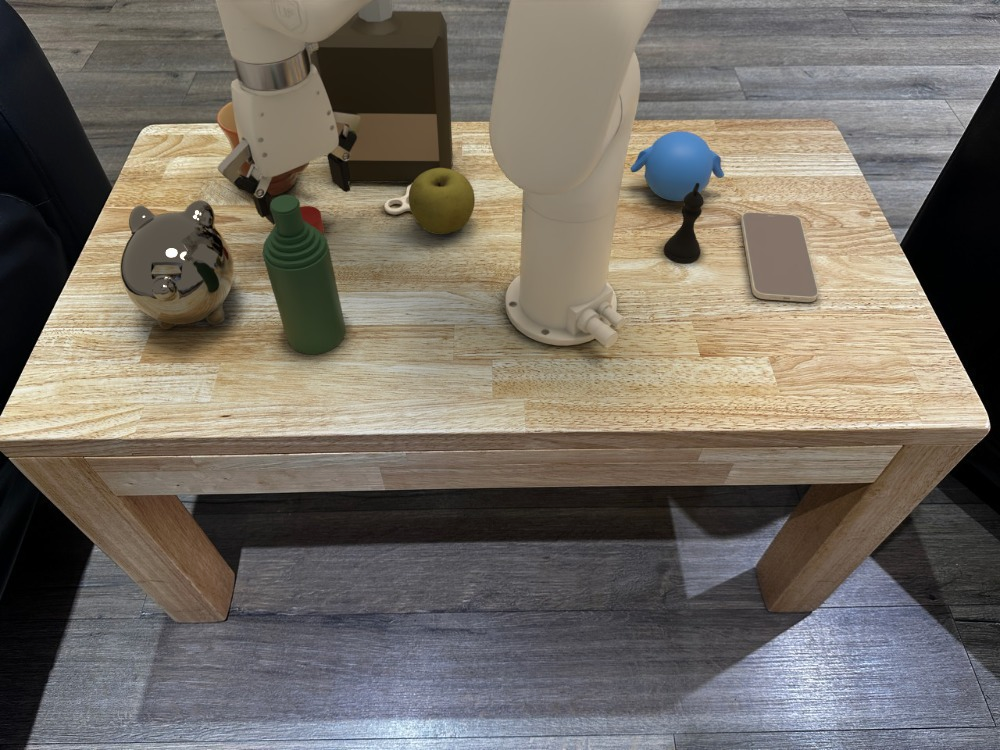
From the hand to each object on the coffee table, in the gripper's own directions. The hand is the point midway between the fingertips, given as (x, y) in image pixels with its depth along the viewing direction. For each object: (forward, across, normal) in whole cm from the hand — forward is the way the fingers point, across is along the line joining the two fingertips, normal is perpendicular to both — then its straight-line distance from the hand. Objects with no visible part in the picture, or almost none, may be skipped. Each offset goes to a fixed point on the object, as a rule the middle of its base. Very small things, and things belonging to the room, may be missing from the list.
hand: (306, 202), depth 93 cm
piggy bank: (+5, +17, +2) cm, 18 cm away
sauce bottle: (+5, +8, +15) cm, 18 cm away
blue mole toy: (+6, -43, +20) cm, 48 cm away
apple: (+6, -14, +8) cm, 17 cm away
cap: (+3, 0, -1) cm, 3 cm away
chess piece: (+7, -34, +30) cm, 46 cm away
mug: (+5, -2, -12) cm, 13 cm away
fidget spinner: (+5, -13, +2) cm, 14 cm away
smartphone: (+7, -42, +38) cm, 57 cm away
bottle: (+5, -16, -6) cm, 18 cm away
